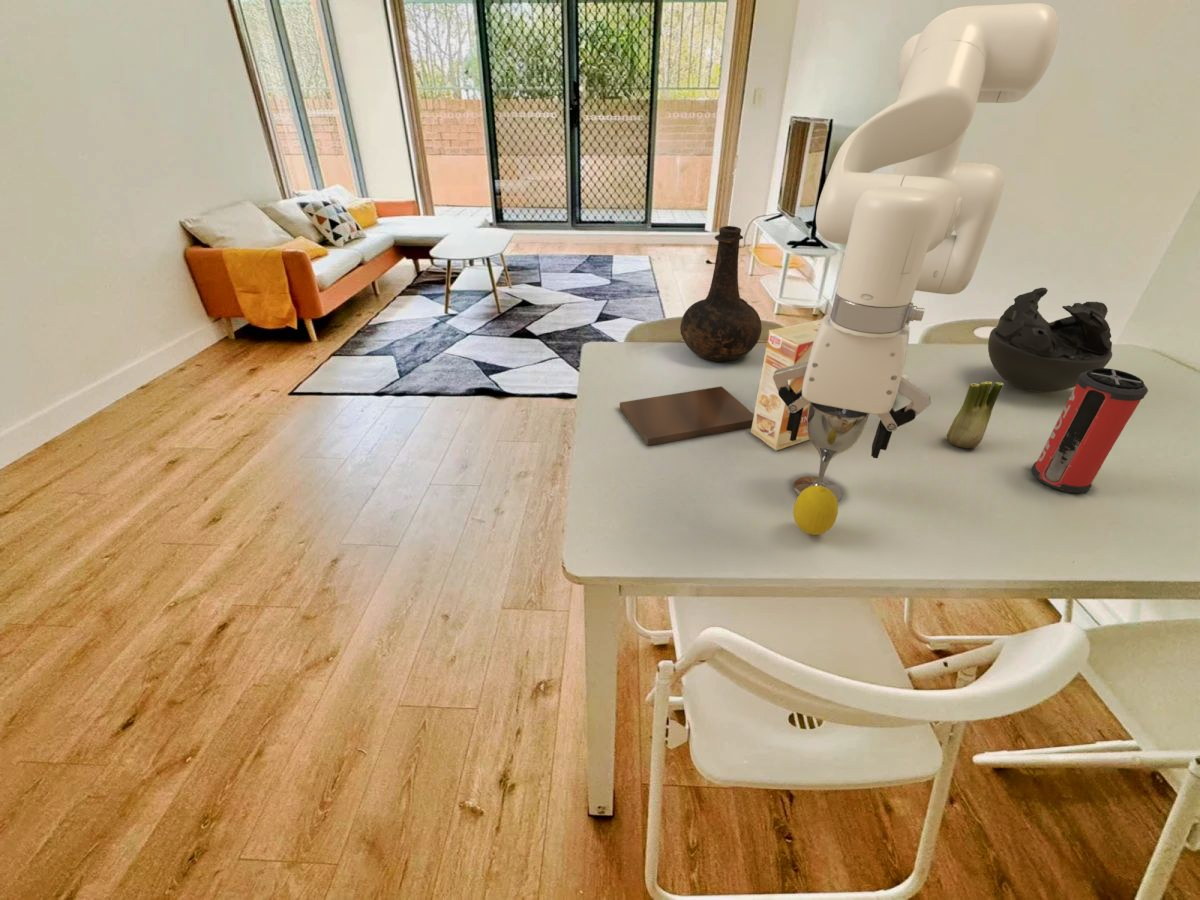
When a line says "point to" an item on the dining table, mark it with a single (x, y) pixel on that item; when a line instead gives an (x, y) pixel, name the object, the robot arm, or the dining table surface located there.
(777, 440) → the coffeecake box
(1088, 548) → the dining table surface
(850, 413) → the wine glass
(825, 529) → the lemon
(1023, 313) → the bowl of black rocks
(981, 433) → the fennel bulb
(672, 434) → the cutting board
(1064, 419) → the speaker
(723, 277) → the glass bottle
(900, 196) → the robot arm
